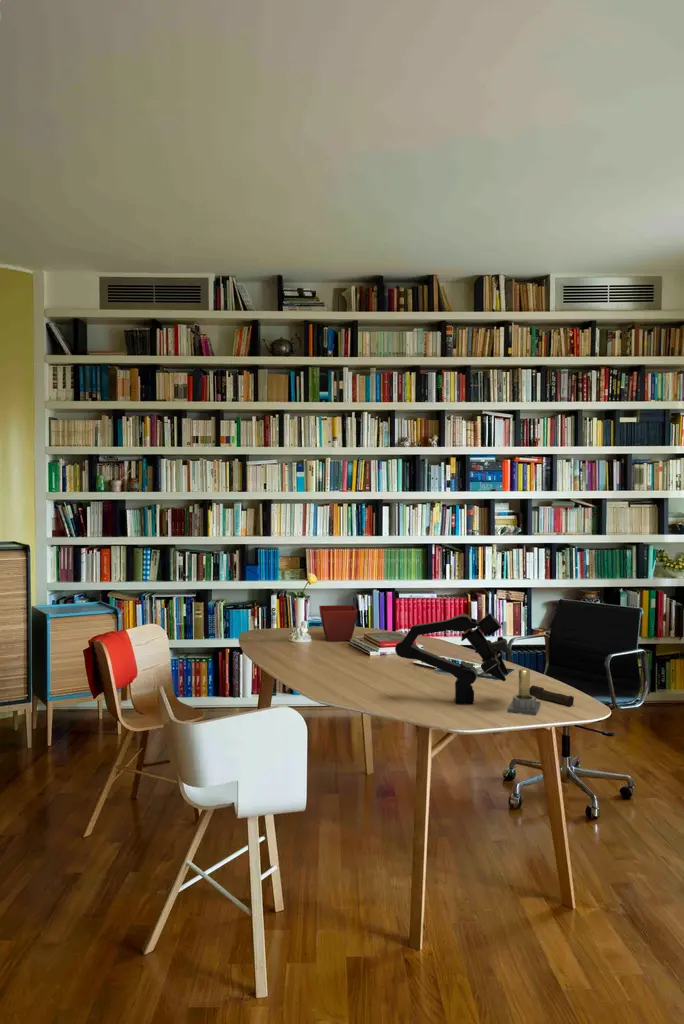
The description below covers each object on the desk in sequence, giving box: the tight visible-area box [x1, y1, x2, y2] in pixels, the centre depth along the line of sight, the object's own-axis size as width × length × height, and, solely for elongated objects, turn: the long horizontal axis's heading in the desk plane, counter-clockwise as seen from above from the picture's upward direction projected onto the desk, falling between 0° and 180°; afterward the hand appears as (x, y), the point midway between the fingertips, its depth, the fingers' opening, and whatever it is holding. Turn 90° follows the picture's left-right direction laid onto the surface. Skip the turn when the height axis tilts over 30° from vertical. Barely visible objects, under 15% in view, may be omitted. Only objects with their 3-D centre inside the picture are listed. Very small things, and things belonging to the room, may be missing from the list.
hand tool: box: [530, 685, 575, 708], centre depth 293 cm, size 19×4×5 cm, turn 38°
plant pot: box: [318, 604, 358, 642], centre depth 412 cm, size 19×19×17 cm
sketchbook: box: [433, 667, 515, 681], centre depth 340 cm, size 22×30×2 cm
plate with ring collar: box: [506, 693, 541, 716], centre depth 282 cm, size 10×14×4 cm
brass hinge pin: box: [518, 668, 531, 699], centre depth 282 cm, size 4×4×13 cm
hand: (506, 677), depth 286 cm, fingers open, 9 cm apart
